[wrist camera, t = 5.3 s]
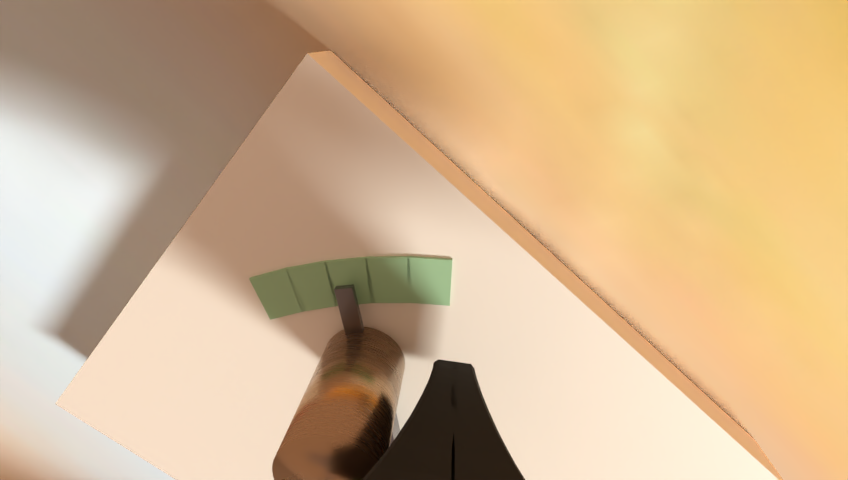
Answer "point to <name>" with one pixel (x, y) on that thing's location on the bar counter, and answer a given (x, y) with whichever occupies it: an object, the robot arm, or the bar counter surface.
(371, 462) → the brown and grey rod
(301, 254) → the board
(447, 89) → the bar counter surface
